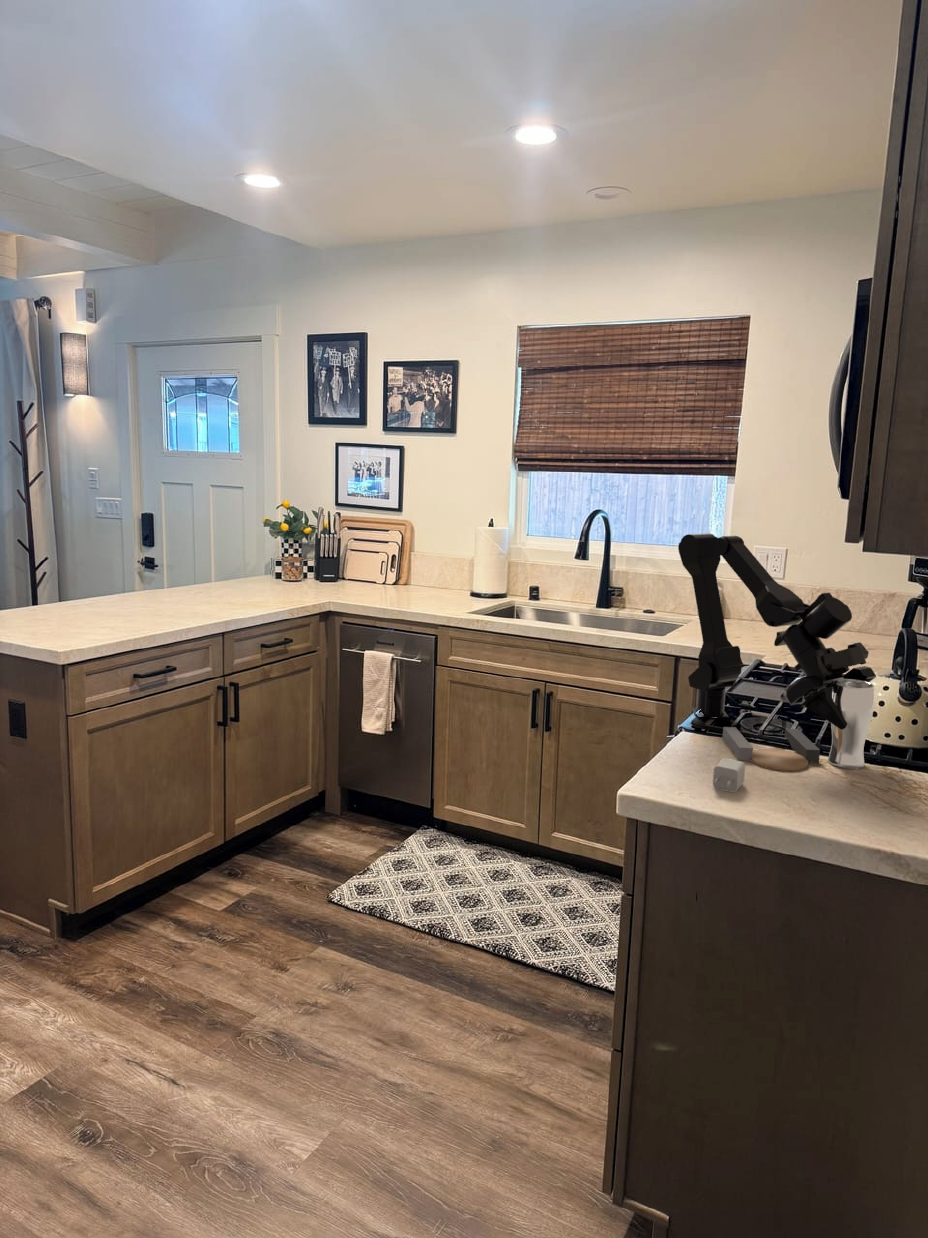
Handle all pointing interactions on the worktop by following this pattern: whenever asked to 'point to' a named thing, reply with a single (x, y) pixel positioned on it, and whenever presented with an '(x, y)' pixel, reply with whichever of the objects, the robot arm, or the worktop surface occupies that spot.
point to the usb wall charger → (728, 775)
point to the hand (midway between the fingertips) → (856, 725)
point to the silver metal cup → (851, 722)
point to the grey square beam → (737, 743)
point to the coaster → (779, 760)
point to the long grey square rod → (802, 745)
